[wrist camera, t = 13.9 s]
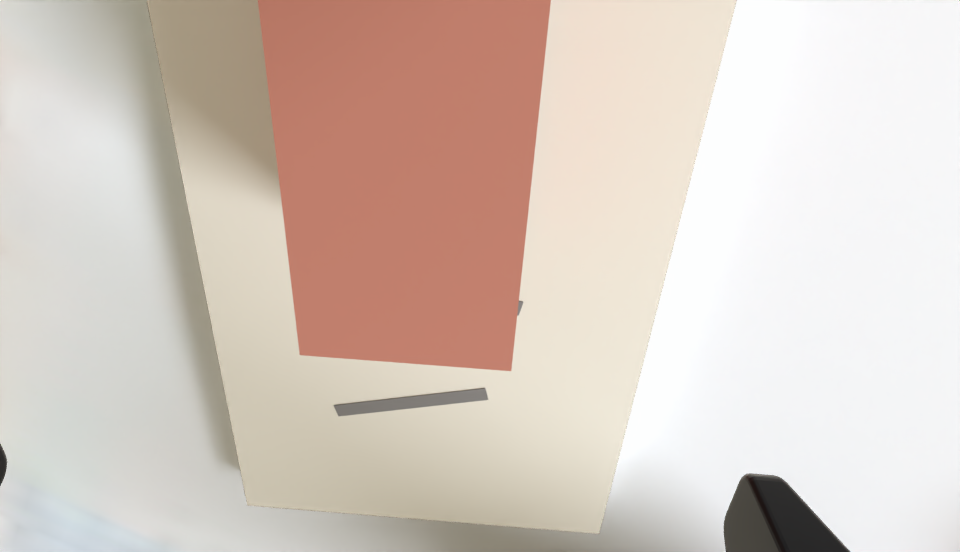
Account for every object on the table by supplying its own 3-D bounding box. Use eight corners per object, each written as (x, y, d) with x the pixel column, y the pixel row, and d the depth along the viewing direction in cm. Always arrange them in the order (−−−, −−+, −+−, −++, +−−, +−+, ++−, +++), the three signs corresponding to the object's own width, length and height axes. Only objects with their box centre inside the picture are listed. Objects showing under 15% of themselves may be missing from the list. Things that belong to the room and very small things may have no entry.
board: (596, 506, 27) (599, 534, 26) (257, 479, 27) (247, 506, 26) (736, -65, 16) (751, -54, 15) (150, -110, 16) (125, -103, 15)
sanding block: (513, 245, 19) (511, 371, 15) (347, 232, 19) (299, 355, 15) (545, -84, 15) (553, -32, 11) (327, -99, 15) (251, -53, 11)
